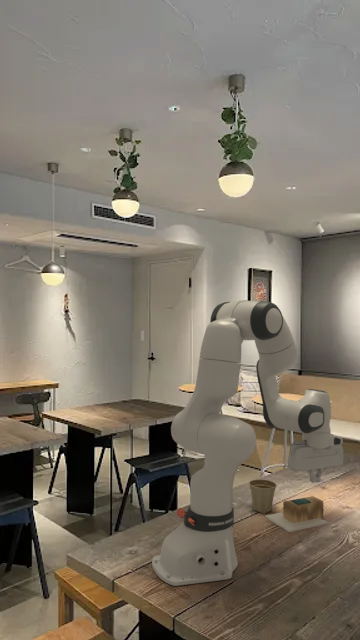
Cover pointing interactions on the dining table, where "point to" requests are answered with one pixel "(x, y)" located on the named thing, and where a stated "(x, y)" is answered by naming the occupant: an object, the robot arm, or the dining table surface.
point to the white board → (290, 526)
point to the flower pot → (262, 494)
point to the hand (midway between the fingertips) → (315, 481)
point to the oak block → (303, 509)
